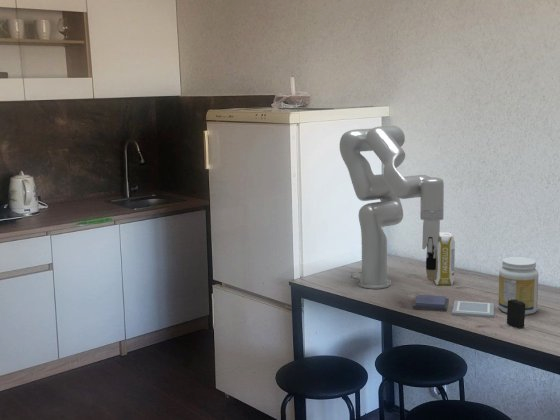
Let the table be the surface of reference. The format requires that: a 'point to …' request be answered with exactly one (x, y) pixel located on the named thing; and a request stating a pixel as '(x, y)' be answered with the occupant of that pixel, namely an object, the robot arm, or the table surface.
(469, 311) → the marked board
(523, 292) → the supplement tub
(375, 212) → the robot arm
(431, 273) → the handle
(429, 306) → the ink pad
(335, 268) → the table surface
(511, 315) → the ink cartridge
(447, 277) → the juice carton
